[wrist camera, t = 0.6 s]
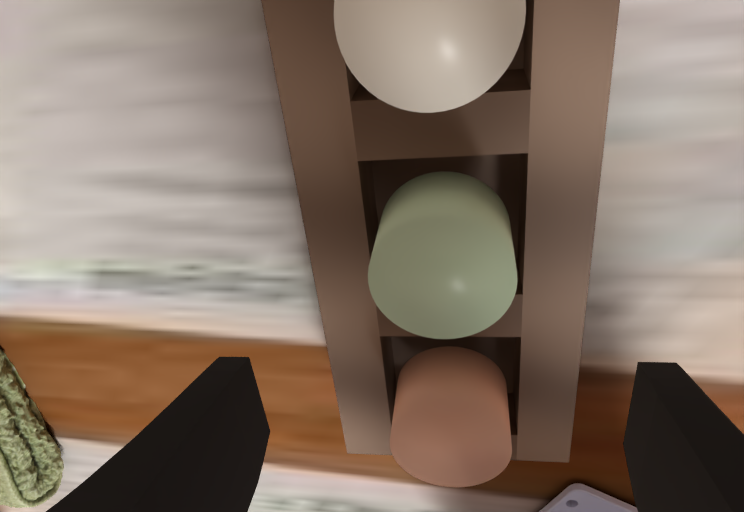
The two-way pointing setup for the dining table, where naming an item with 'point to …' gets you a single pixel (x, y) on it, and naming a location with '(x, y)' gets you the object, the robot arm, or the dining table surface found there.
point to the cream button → (428, 48)
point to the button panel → (467, 156)
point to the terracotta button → (451, 418)
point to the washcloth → (24, 446)
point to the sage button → (443, 257)
